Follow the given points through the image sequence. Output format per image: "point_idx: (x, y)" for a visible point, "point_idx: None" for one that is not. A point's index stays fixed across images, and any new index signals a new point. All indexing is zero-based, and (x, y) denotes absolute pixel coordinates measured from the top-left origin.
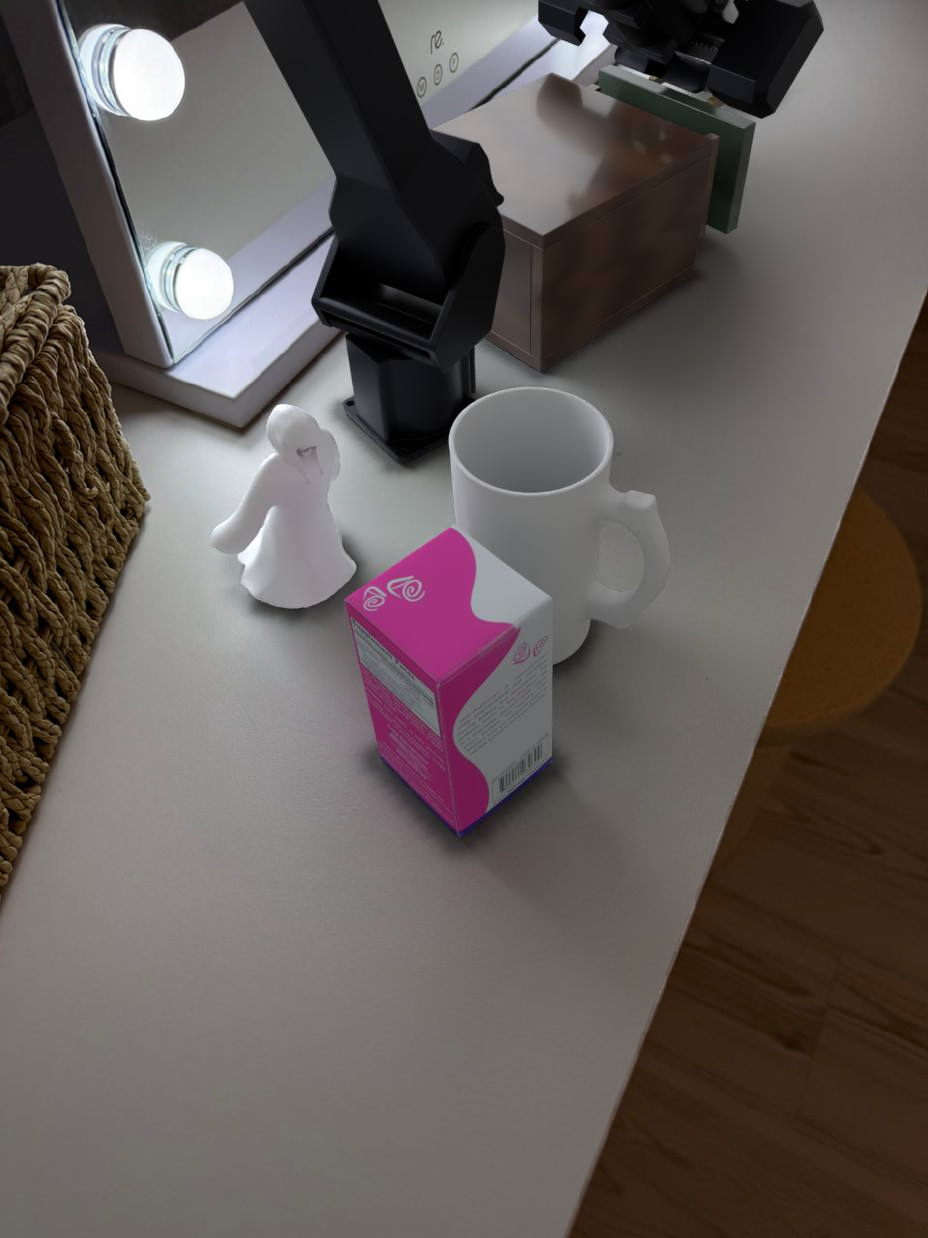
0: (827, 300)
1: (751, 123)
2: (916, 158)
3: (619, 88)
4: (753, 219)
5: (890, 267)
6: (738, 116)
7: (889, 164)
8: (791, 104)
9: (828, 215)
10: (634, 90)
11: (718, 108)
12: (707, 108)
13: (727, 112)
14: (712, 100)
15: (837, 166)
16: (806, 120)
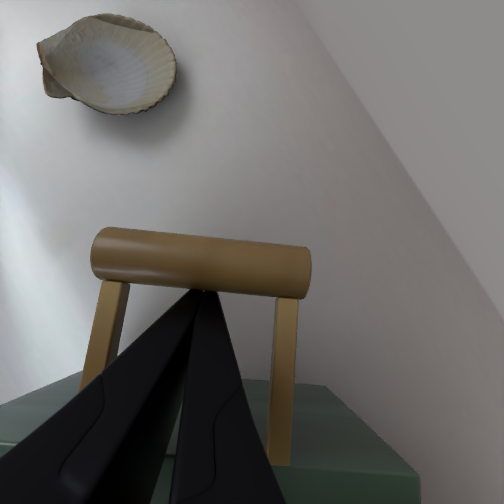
0: (466, 419)
1: (417, 492)
2: (366, 113)
3: None
4: (309, 323)
5: (470, 314)
6: (374, 482)
7: (353, 137)
8: (204, 84)
9: (365, 263)
10: None
11: (311, 477)
12: (289, 495)
13: (341, 481)
14: (280, 457)
15: (315, 169)
16: (236, 105)
